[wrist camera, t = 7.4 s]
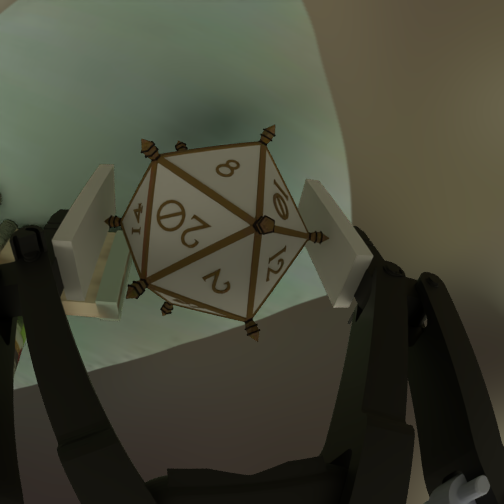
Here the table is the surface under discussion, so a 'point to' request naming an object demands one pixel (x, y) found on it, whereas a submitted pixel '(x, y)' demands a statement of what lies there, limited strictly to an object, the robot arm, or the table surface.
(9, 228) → the gate post
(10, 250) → the gate
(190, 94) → the table surface
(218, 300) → the game die
